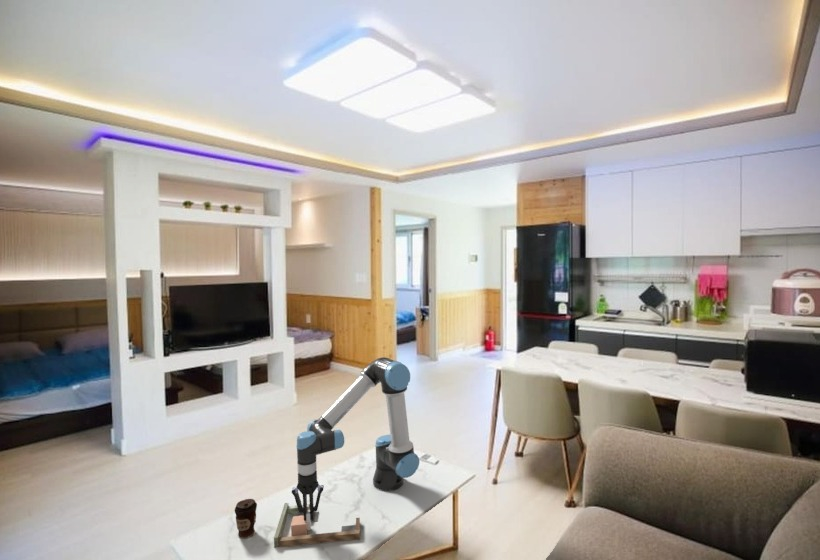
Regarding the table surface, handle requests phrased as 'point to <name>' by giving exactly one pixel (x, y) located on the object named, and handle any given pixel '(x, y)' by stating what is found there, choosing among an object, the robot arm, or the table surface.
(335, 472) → the table surface
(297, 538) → the trap box
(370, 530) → the table surface
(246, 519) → the coffee cup
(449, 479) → the table surface
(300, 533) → the block
